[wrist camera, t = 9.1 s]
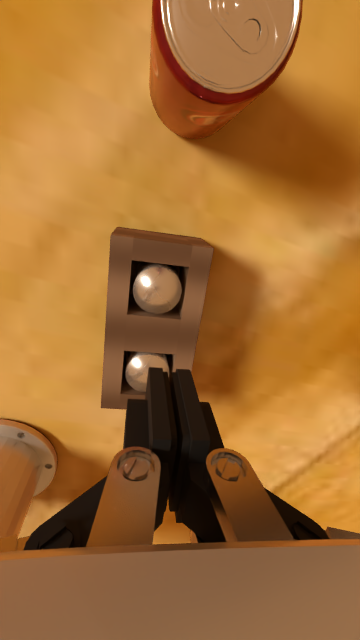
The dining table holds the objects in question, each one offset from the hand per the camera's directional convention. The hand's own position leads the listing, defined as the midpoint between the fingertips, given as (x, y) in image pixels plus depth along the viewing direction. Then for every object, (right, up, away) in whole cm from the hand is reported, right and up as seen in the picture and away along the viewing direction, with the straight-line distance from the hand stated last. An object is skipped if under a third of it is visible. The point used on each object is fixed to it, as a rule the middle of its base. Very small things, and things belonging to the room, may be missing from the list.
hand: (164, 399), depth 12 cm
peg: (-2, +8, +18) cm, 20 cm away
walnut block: (-2, +4, +20) cm, 20 cm away
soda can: (+2, +22, +13) cm, 26 cm away
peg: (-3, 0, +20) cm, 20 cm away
